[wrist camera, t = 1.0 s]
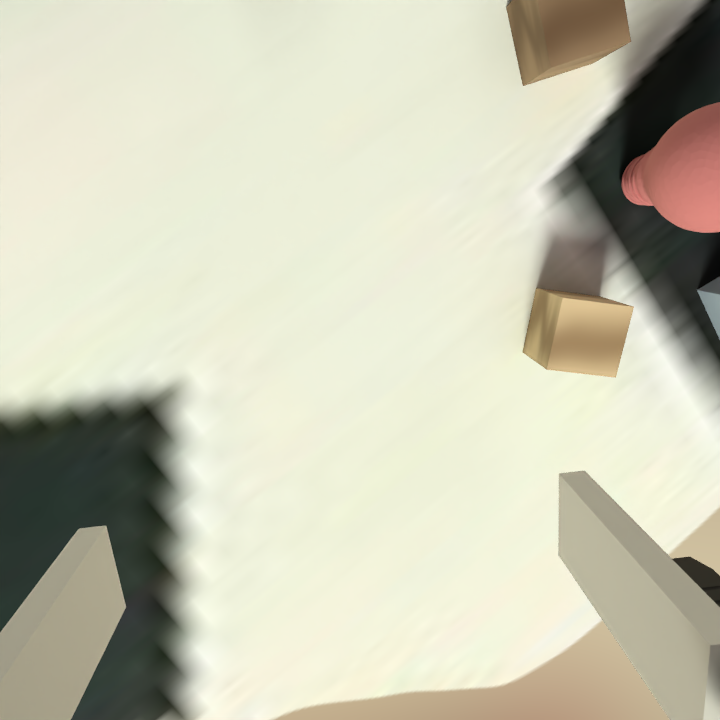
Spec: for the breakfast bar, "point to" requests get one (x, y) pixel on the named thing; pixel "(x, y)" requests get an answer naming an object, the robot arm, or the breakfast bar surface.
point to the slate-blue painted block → (712, 302)
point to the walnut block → (565, 34)
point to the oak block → (577, 332)
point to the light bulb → (682, 173)
